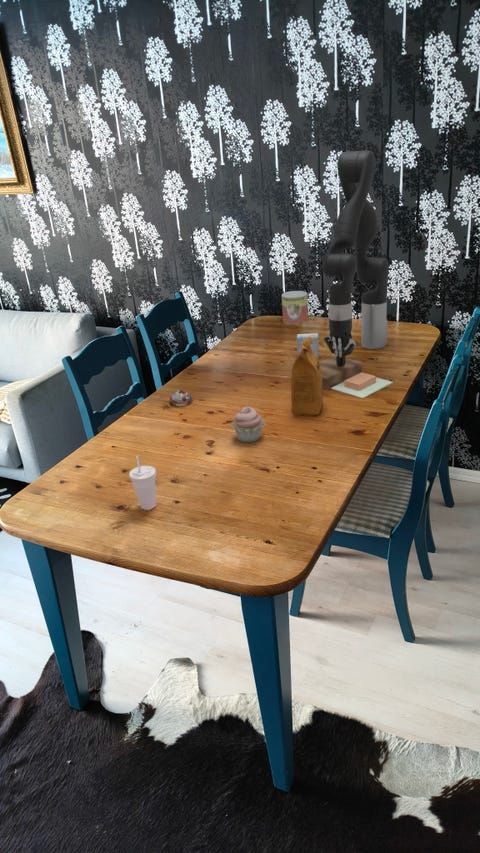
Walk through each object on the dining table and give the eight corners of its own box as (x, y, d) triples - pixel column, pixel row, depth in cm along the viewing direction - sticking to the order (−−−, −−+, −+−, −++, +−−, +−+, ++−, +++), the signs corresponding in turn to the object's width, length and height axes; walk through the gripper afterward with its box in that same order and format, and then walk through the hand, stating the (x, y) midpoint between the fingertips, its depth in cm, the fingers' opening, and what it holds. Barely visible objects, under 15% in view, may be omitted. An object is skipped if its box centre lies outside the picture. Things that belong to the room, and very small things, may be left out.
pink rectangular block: (376, 376, 205) (376, 382, 206) (361, 372, 209) (361, 378, 210) (359, 384, 200) (359, 391, 201) (344, 380, 204) (344, 386, 205)
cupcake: (242, 449, 173) (239, 416, 168) (227, 436, 180) (224, 405, 176) (271, 439, 176) (269, 407, 172) (255, 427, 184) (253, 397, 180)
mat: (361, 374, 214) (361, 373, 214) (392, 383, 205) (392, 381, 205) (330, 389, 205) (330, 387, 205) (362, 398, 196) (362, 397, 196)
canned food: (281, 325, 272) (280, 298, 267) (284, 317, 282) (282, 291, 277) (307, 324, 270) (306, 297, 265) (309, 316, 280) (308, 290, 275)
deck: (335, 365, 223) (335, 355, 222) (362, 373, 215) (362, 362, 213) (301, 381, 213) (300, 370, 211) (327, 389, 205) (327, 378, 203)
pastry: (188, 408, 201) (186, 393, 199) (166, 407, 203) (164, 393, 201) (195, 397, 208) (194, 384, 206) (174, 397, 210) (172, 383, 208)
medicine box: (318, 354, 235) (318, 332, 231) (318, 358, 231) (318, 336, 227) (297, 355, 236) (296, 333, 232) (297, 359, 232) (296, 337, 228)
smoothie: (136, 500, 153) (126, 451, 147) (162, 497, 154) (153, 448, 147) (134, 515, 148) (124, 464, 141) (161, 512, 148) (152, 461, 142)
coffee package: (327, 401, 196) (326, 335, 187) (320, 418, 186) (318, 349, 176) (297, 399, 199) (294, 334, 190) (287, 416, 189) (284, 348, 179)
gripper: (364, 316, 199) (363, 367, 206) (332, 310, 208) (333, 359, 216) (348, 322, 194) (349, 374, 202) (317, 315, 204) (318, 365, 211)
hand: (340, 366), depth 209 cm, fingers closed
